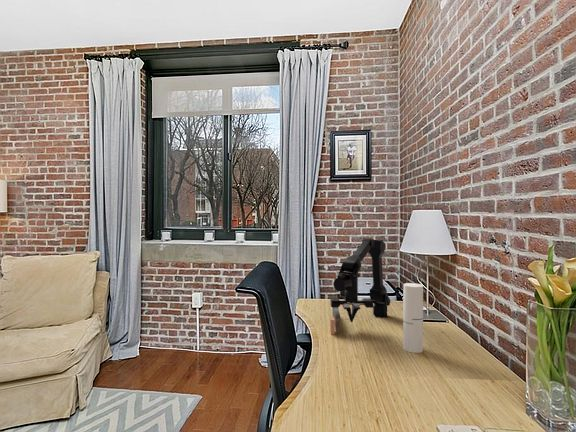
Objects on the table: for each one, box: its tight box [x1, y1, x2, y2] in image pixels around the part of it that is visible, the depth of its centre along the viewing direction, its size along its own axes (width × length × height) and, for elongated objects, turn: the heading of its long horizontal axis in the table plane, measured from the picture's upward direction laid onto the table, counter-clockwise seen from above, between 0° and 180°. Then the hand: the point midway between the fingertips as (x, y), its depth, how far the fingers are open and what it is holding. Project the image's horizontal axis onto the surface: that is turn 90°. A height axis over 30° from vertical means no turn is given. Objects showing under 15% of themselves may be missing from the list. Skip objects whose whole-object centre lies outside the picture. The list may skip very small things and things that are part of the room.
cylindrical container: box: [402, 282, 424, 354], centre depth 127 cm, size 7×7×25 cm
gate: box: [332, 307, 341, 333], centre depth 151 cm, size 16×2×7 cm, turn 175°
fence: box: [329, 308, 336, 335], centre depth 156 cm, size 4×27×8 cm, turn 176°
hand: (351, 321), depth 148 cm, fingers closed
